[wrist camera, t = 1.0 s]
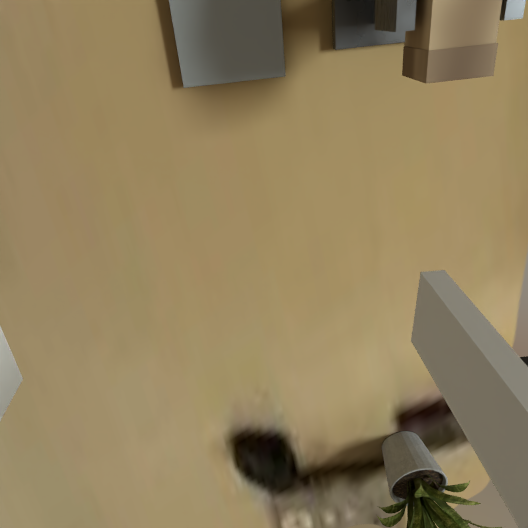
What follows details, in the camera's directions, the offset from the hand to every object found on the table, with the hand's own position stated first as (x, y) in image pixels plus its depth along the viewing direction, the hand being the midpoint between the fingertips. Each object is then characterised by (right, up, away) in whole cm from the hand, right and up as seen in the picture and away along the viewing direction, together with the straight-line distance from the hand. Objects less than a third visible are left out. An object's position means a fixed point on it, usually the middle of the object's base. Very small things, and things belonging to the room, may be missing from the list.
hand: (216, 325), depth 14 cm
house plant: (+18, -23, +46) cm, 54 cm away
